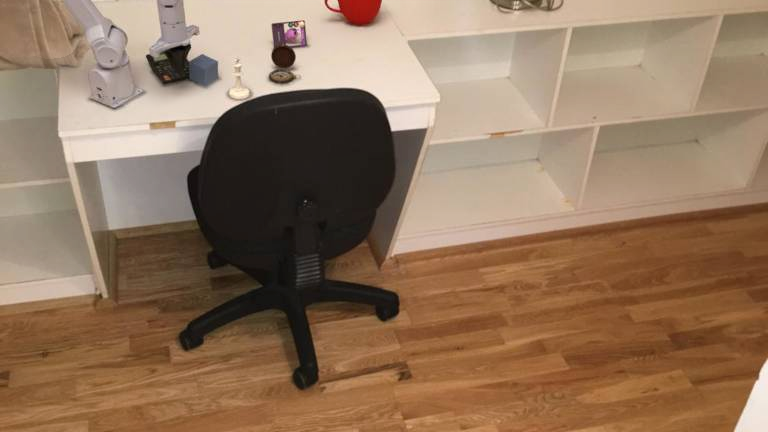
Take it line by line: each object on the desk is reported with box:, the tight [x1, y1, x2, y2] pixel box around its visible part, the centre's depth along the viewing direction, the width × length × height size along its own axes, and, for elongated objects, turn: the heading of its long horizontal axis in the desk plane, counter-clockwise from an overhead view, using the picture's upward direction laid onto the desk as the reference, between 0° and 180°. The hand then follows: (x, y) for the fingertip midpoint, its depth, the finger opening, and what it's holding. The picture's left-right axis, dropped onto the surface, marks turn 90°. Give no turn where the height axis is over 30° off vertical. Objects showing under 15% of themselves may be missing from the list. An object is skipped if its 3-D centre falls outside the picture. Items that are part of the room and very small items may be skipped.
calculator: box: [145, 53, 190, 86], centre depth 197 cm, size 9×12×3 cm
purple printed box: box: [270, 19, 308, 49], centre depth 212 cm, size 7×5×9 cm
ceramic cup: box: [324, 0, 383, 27], centre depth 222 cm, size 13×17×10 cm
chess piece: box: [228, 56, 250, 100], centre depth 188 cm, size 5×5×10 cm
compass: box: [268, 44, 302, 85], centre depth 197 cm, size 8×8×7 cm
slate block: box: [188, 53, 219, 87], centre depth 194 cm, size 5×5×5 cm
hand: (179, 72), depth 187 cm, fingers closed
